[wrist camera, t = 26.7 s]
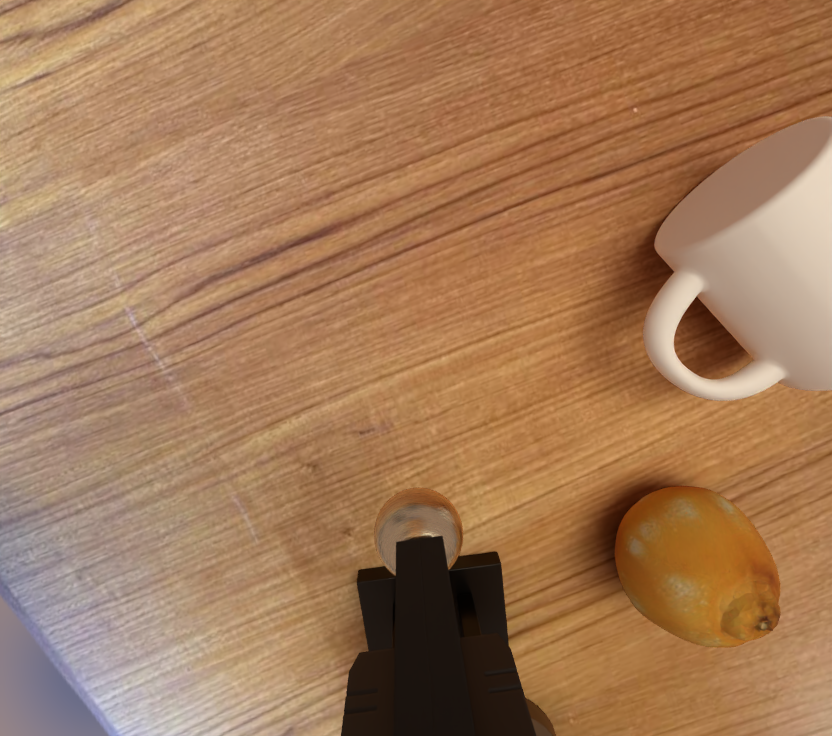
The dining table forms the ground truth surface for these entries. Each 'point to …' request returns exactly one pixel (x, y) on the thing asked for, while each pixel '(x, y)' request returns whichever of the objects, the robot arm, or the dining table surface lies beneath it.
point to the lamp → (540, 721)
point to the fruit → (698, 567)
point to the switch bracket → (472, 596)
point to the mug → (754, 265)
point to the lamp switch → (417, 524)
